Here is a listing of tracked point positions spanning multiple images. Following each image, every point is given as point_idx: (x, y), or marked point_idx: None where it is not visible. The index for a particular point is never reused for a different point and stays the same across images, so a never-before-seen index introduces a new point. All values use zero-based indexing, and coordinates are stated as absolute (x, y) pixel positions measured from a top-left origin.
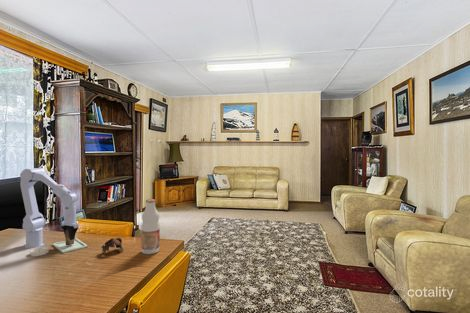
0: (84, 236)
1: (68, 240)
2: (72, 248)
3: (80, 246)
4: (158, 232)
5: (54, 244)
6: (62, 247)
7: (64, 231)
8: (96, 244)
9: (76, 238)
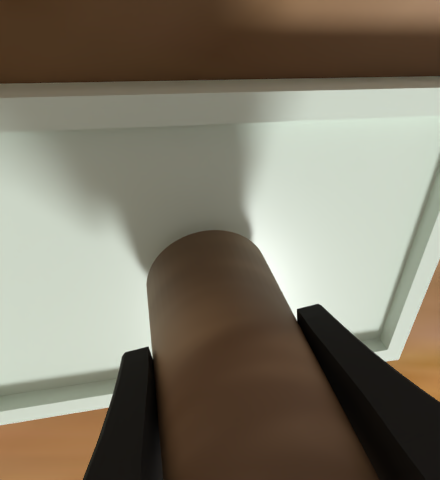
0: (433, 395)
1: (161, 319)
2: (17, 272)
3: (48, 357)
4: None
5: (421, 92)
6: (197, 167)
7: (406, 440)
8: (70, 457)
9: (389, 359)
